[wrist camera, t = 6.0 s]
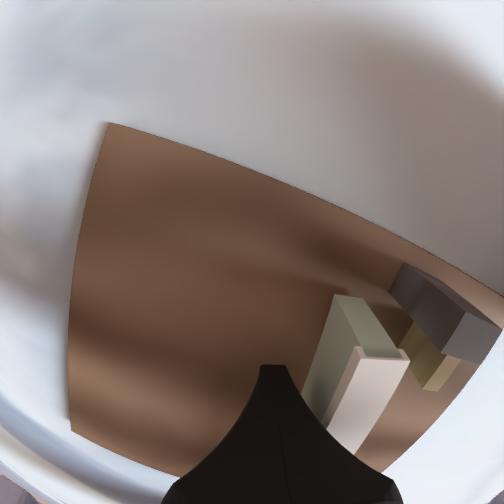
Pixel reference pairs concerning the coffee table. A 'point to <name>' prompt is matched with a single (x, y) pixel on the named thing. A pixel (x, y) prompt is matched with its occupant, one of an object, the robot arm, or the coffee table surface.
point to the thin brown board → (243, 303)
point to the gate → (352, 372)
